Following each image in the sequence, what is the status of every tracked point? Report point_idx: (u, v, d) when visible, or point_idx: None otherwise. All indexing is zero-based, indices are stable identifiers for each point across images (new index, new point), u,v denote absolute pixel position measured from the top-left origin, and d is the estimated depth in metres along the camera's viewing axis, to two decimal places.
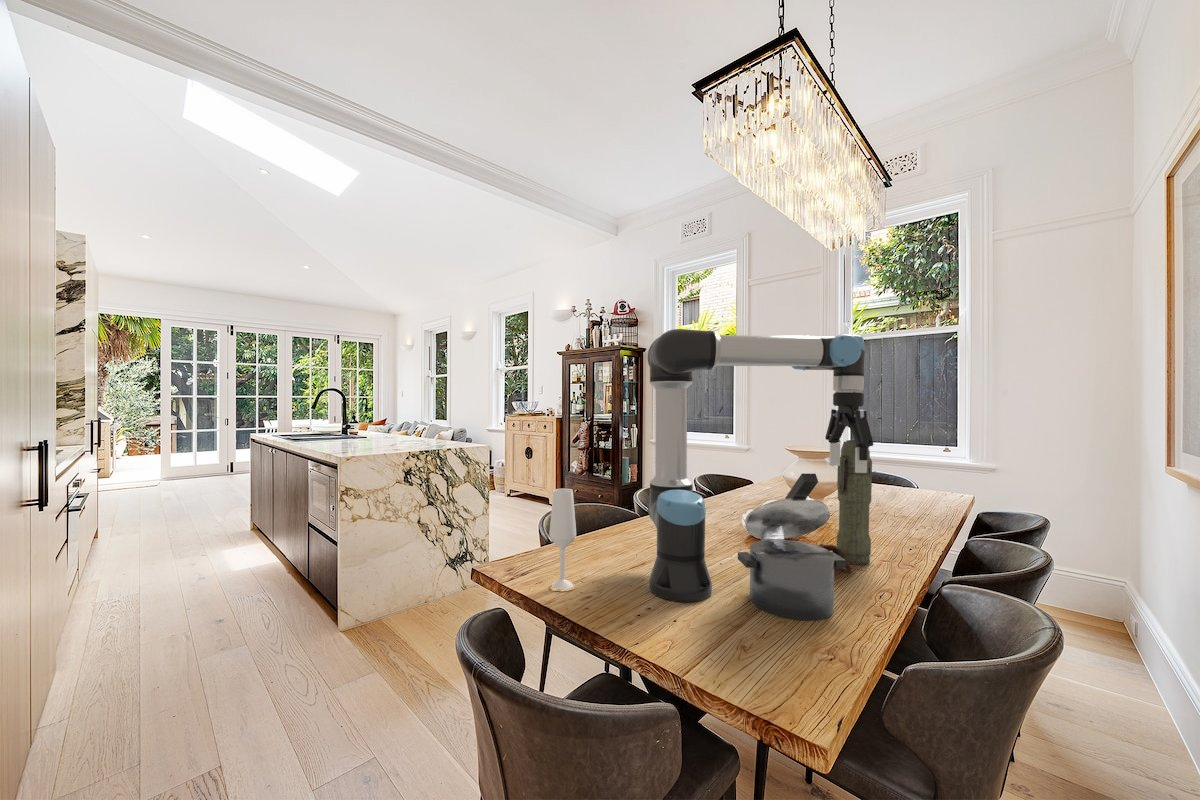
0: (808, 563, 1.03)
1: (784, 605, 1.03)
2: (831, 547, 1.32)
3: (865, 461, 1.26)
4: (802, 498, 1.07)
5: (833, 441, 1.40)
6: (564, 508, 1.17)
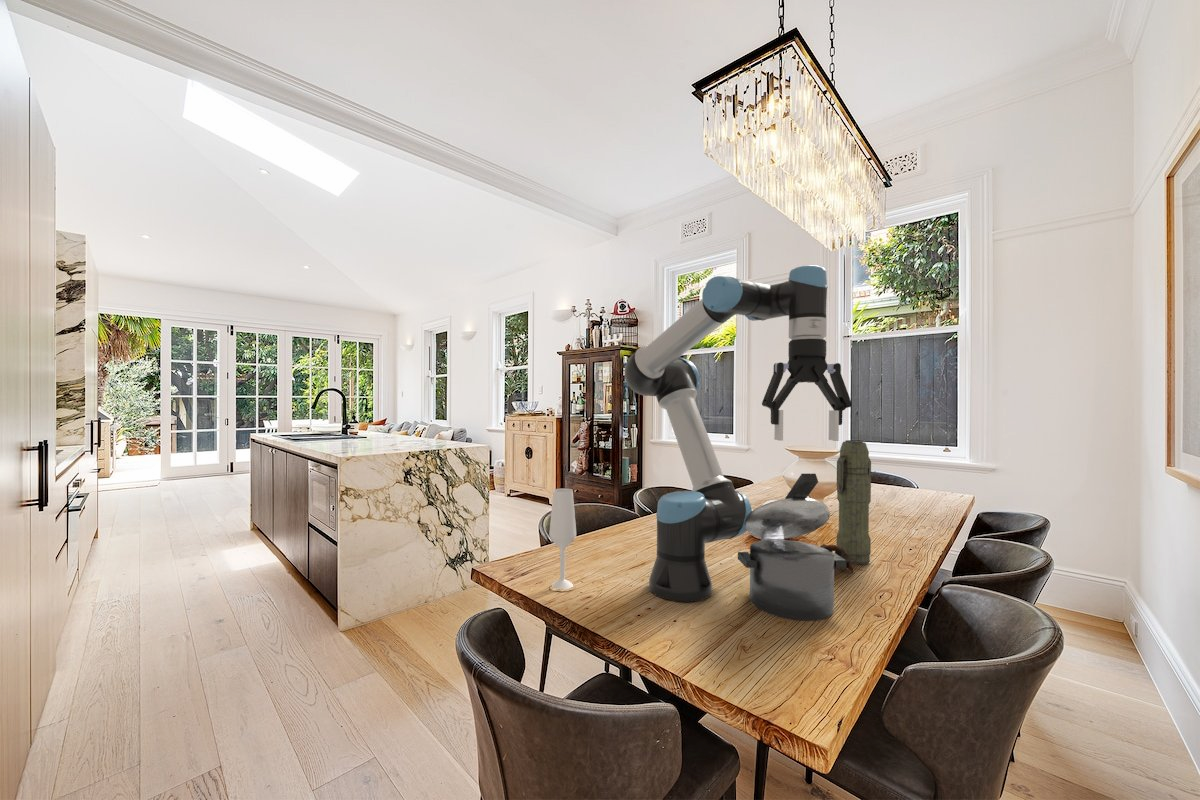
0: (808, 563, 1.03)
1: (784, 605, 1.03)
2: (834, 547, 1.32)
3: (779, 426, 1.03)
4: (802, 498, 1.07)
5: (834, 408, 1.05)
6: (564, 508, 1.17)
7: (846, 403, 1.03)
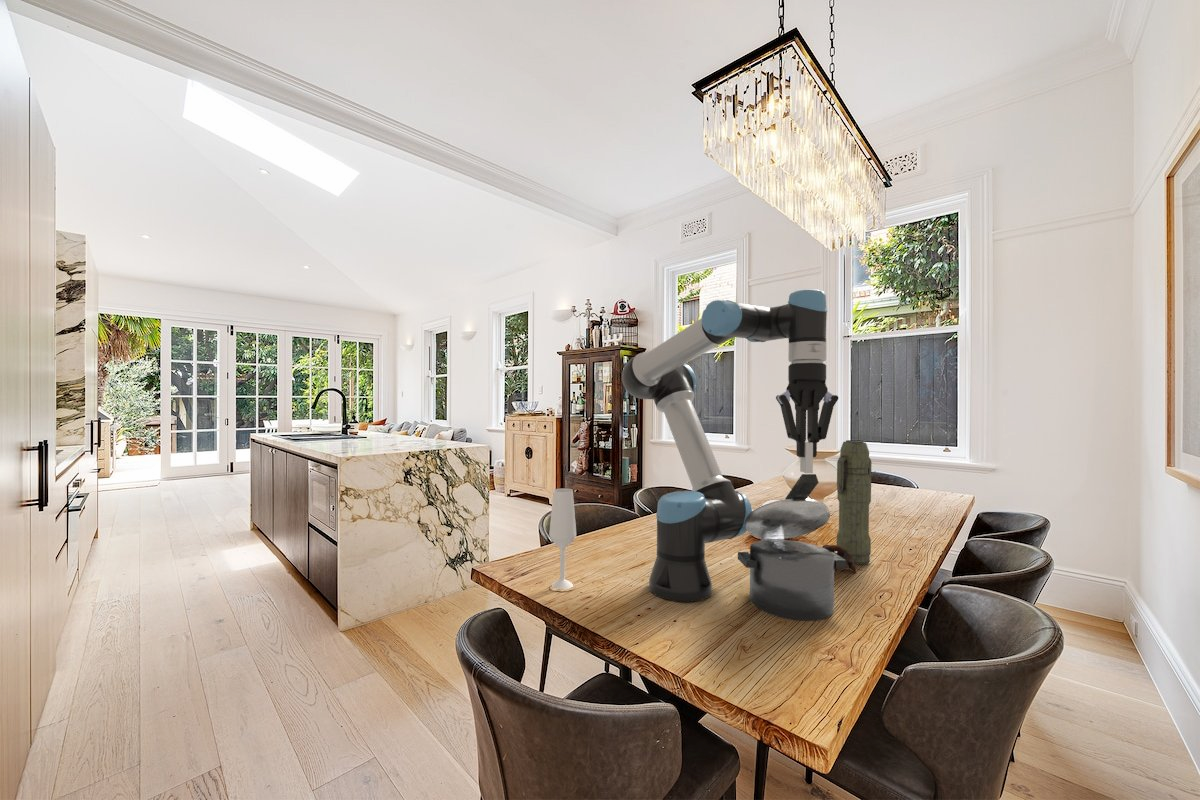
0: (808, 563, 1.03)
1: (784, 605, 1.03)
2: (836, 547, 1.32)
3: (805, 459, 1.03)
4: (802, 498, 1.07)
5: (808, 440, 1.04)
6: (564, 508, 1.17)
7: (821, 434, 1.03)
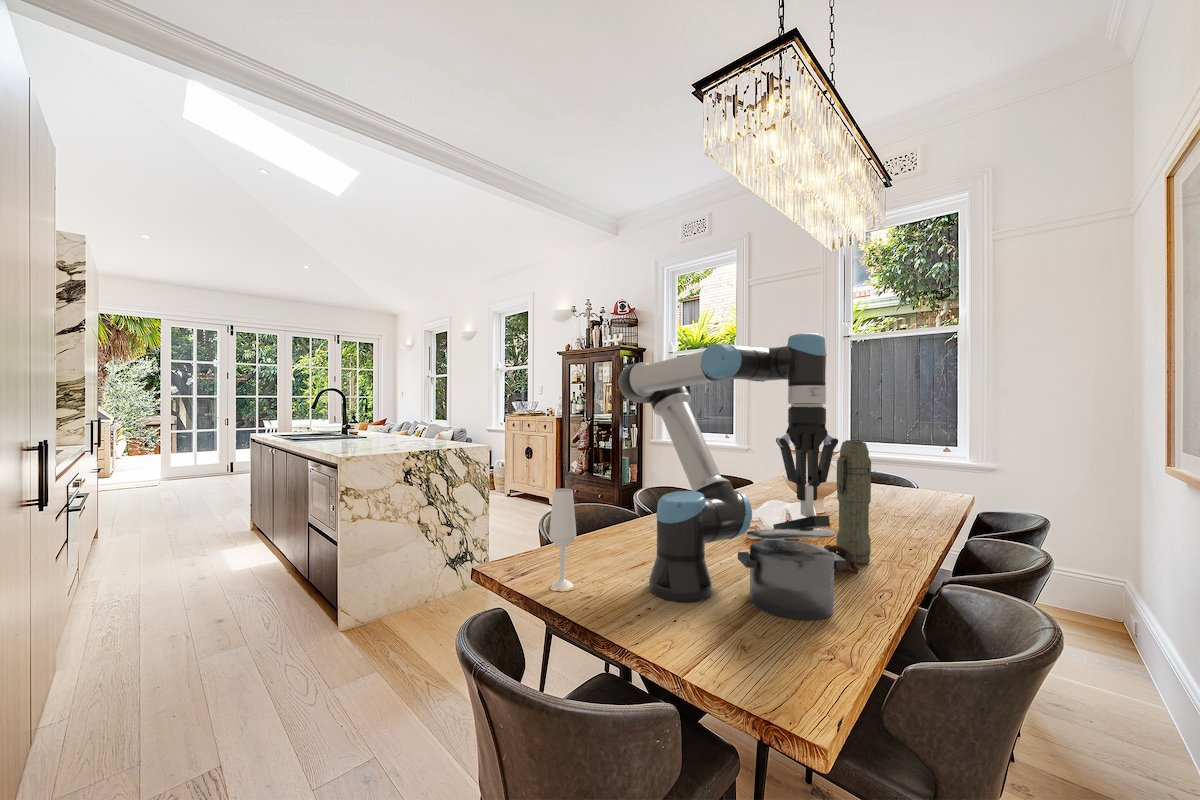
0: (808, 563, 1.03)
1: (784, 605, 1.03)
2: (838, 548, 1.32)
3: (805, 502, 1.03)
4: (810, 529, 1.03)
5: (809, 483, 1.04)
6: (564, 508, 1.17)
7: (822, 477, 1.03)
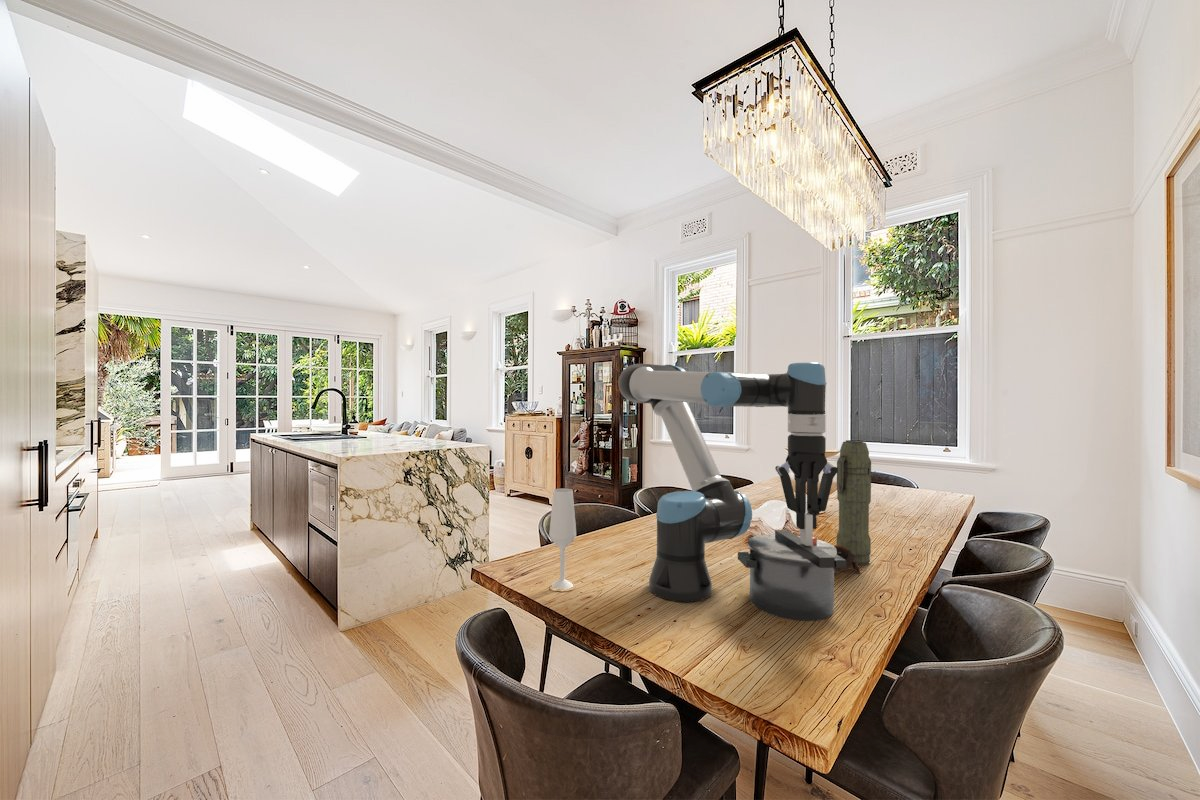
0: (808, 563, 1.03)
1: (784, 605, 1.03)
2: (840, 548, 1.31)
3: (805, 531, 1.03)
4: None
5: (808, 511, 1.04)
6: (564, 508, 1.17)
7: (821, 506, 1.03)
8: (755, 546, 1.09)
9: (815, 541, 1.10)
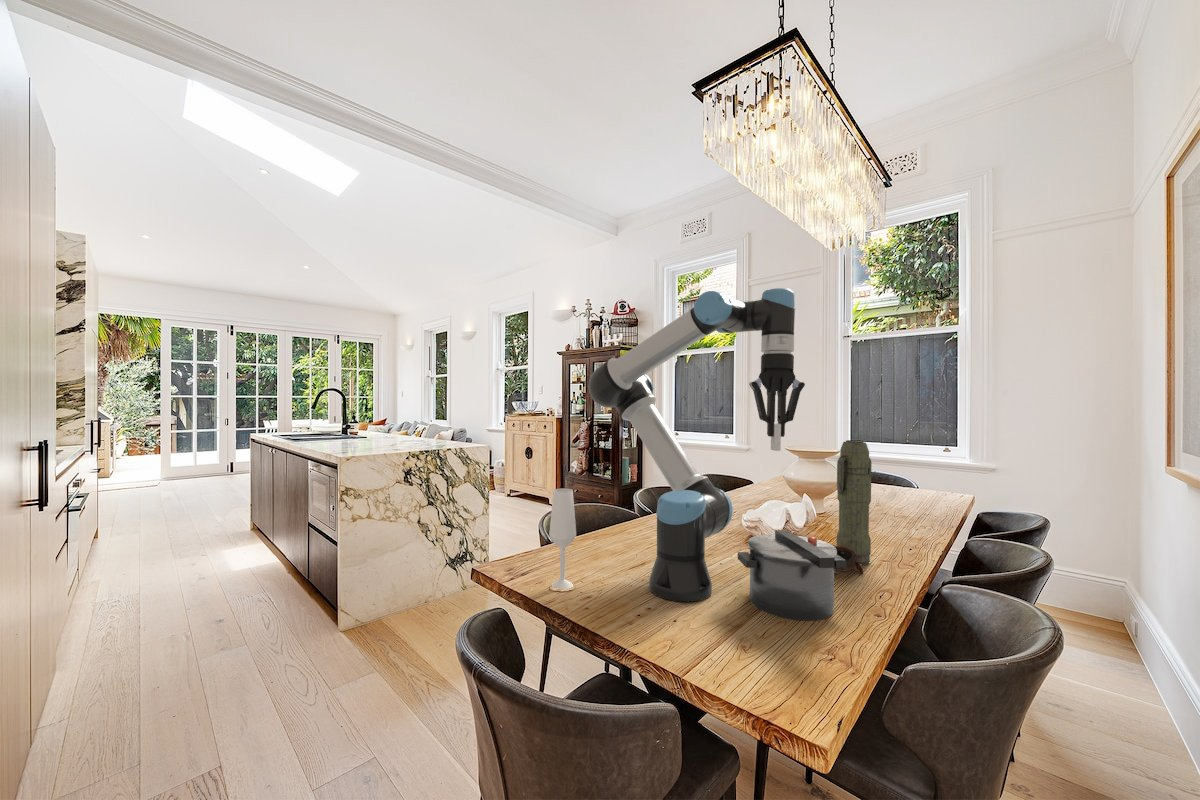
0: (808, 563, 1.03)
1: (784, 605, 1.03)
2: (843, 548, 1.31)
3: (774, 438, 1.17)
4: None
5: (778, 421, 1.18)
6: (564, 508, 1.17)
7: (789, 416, 1.16)
8: (755, 546, 1.09)
9: (815, 541, 1.10)
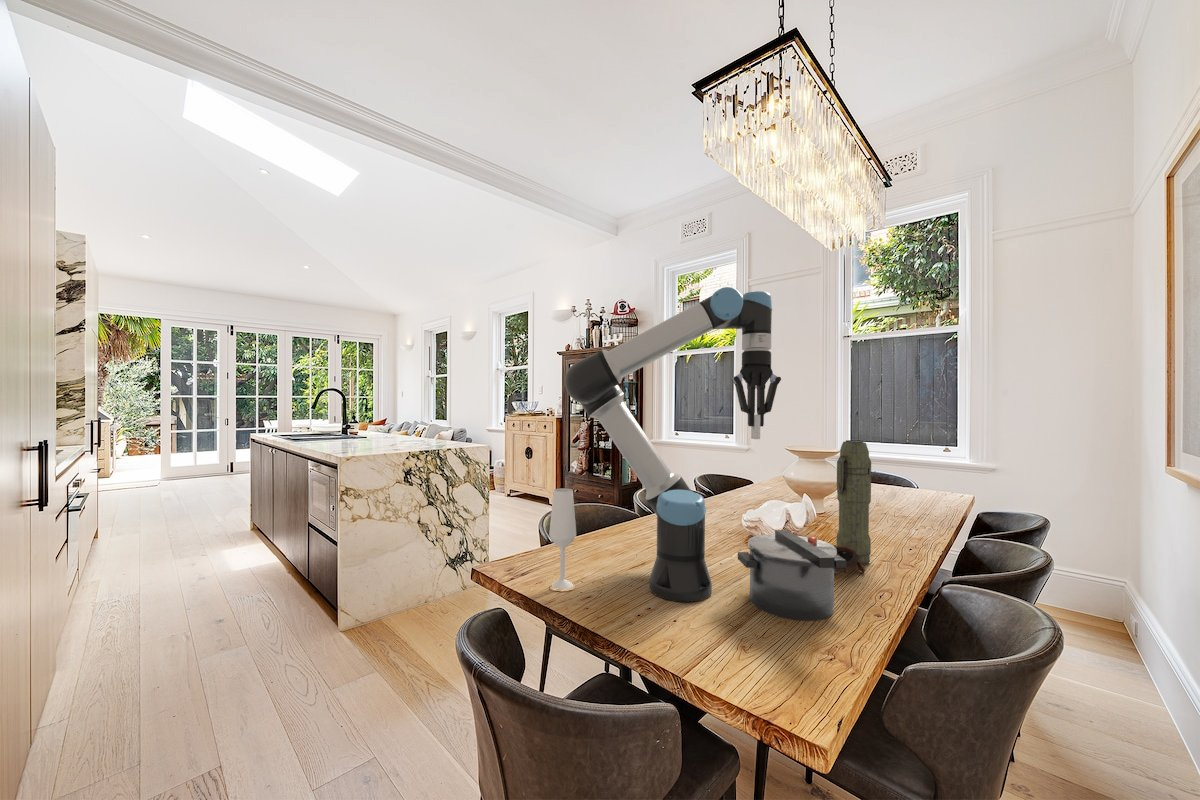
0: (808, 563, 1.03)
1: (784, 605, 1.03)
2: (845, 548, 1.31)
3: (754, 428, 1.28)
4: None
5: (757, 413, 1.29)
6: (564, 508, 1.17)
7: (767, 408, 1.28)
8: (755, 546, 1.09)
9: (815, 541, 1.10)
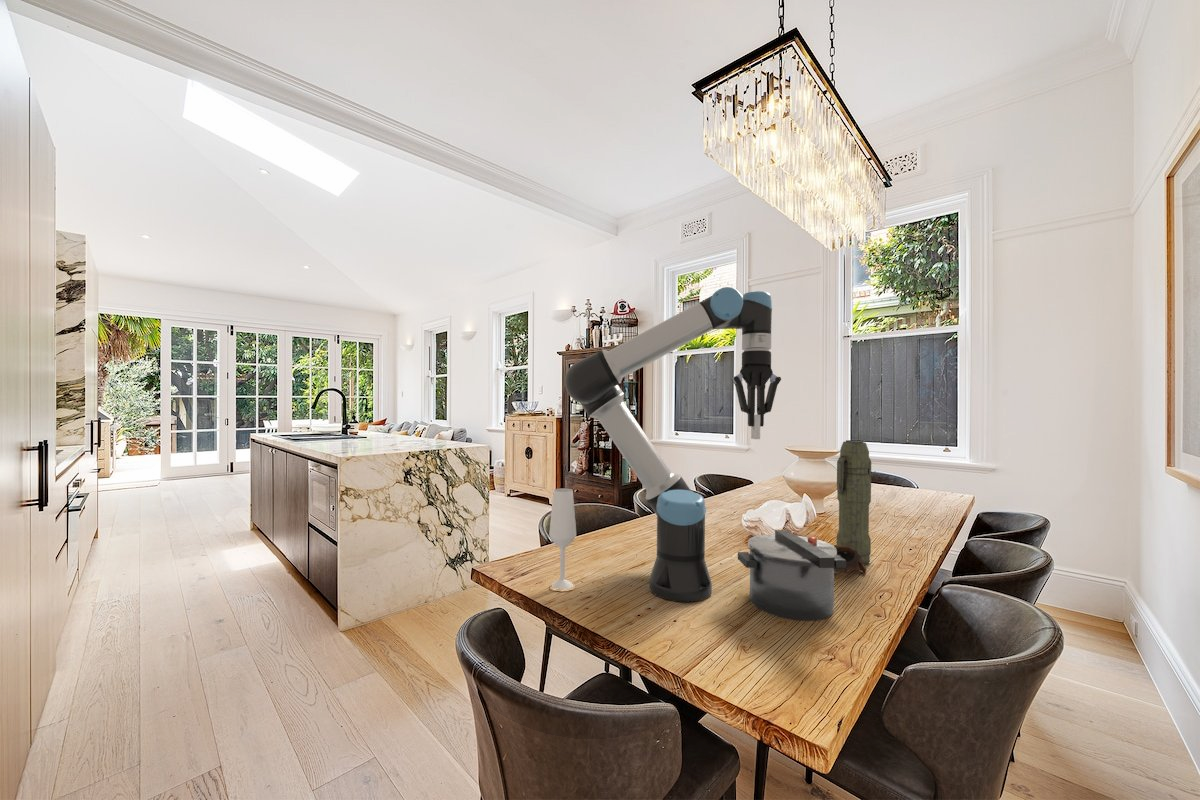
0: (808, 563, 1.03)
1: (784, 605, 1.03)
2: (846, 548, 1.31)
3: (754, 428, 1.28)
4: None
5: (757, 413, 1.29)
6: (564, 508, 1.17)
7: (767, 408, 1.28)
8: (755, 546, 1.09)
9: (815, 541, 1.10)
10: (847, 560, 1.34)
